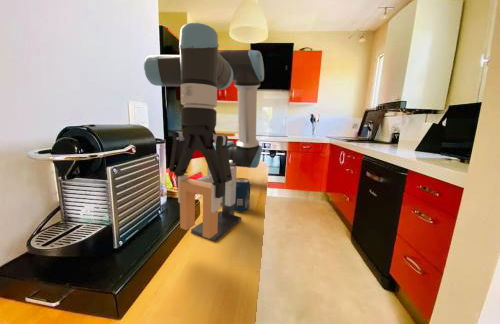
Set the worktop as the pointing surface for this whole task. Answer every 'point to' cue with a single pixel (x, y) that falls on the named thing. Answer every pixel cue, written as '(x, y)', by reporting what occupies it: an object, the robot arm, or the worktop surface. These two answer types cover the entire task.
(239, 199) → the soda can
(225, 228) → the stand
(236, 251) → the worktop surface
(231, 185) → the grey link
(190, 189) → the orange link
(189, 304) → the worktop surface
